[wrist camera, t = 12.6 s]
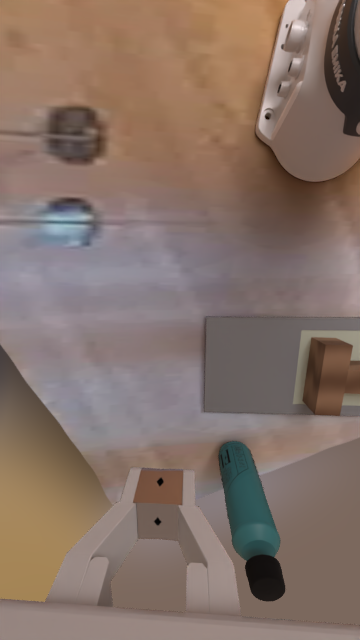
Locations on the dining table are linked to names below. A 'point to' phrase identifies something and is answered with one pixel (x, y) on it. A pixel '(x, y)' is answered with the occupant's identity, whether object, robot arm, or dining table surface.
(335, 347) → the t block
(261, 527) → the beverage bottle
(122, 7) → the dining table surface
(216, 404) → the board
